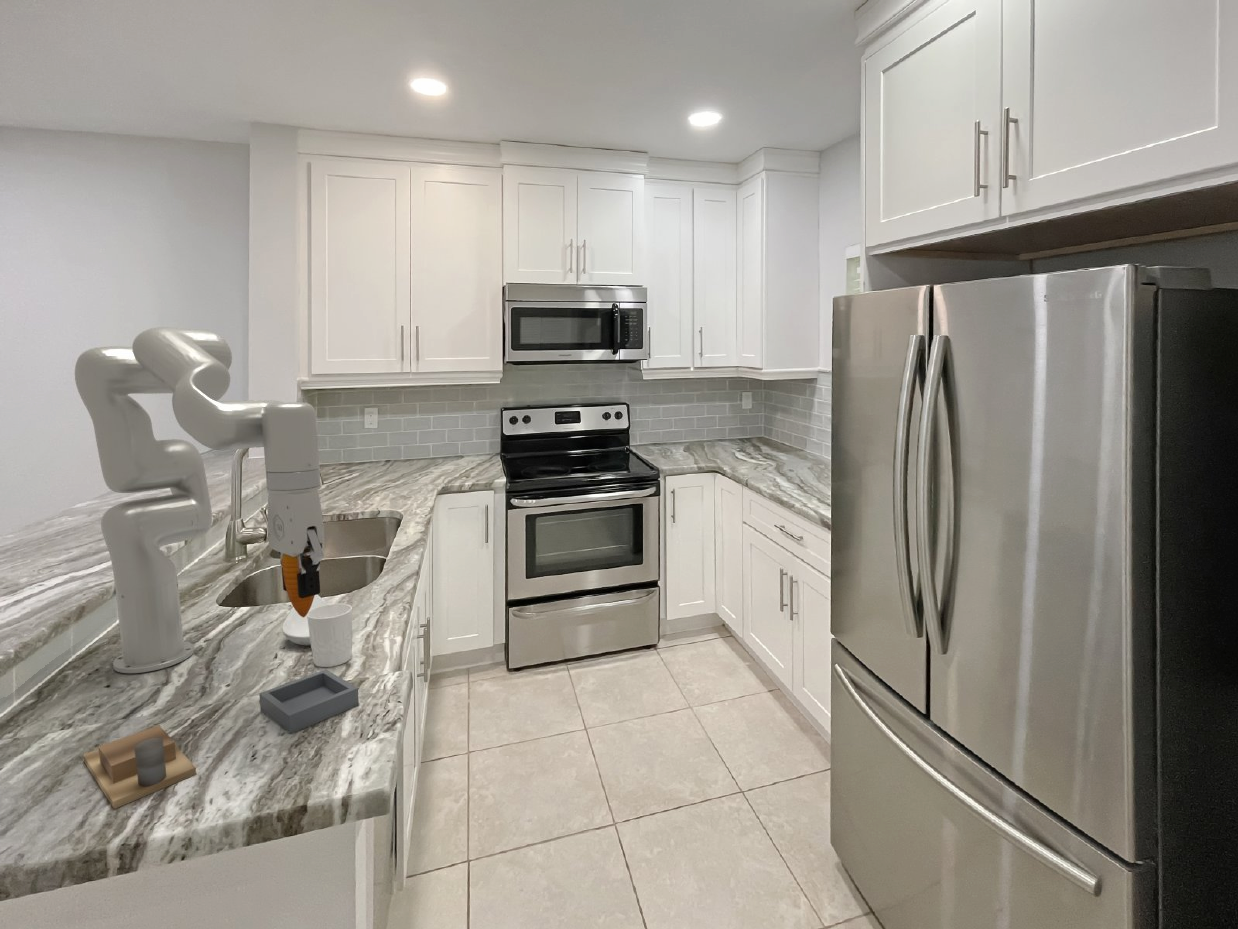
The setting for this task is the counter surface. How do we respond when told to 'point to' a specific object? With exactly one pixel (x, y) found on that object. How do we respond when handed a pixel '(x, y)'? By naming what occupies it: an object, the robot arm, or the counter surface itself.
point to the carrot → (295, 584)
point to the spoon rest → (300, 624)
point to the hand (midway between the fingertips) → (301, 591)
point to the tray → (308, 700)
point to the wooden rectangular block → (131, 753)
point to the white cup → (330, 634)
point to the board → (130, 783)
